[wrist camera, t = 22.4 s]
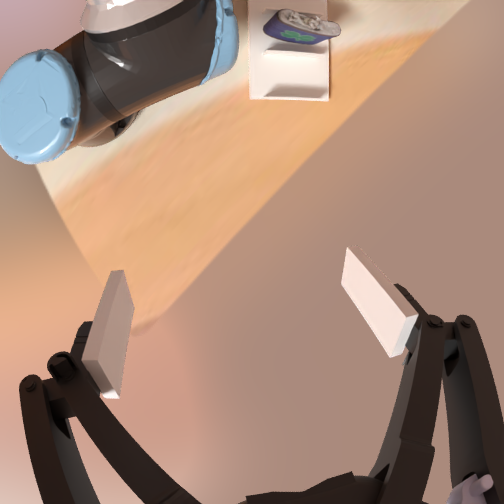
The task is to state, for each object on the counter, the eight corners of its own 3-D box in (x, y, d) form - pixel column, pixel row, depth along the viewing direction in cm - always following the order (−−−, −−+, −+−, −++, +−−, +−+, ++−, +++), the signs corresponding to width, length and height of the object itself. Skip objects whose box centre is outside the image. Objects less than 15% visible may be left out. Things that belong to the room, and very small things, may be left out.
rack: (249, 99, 43) (254, 99, 40) (246, -23, 32) (251, -32, 28) (325, 101, 45) (336, 102, 41) (323, -15, 34) (333, -22, 30)
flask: (318, 34, 38) (348, 22, 29) (316, 49, 39) (346, 40, 30) (263, 20, 36) (281, 2, 27) (260, 36, 37) (278, 21, 28)
